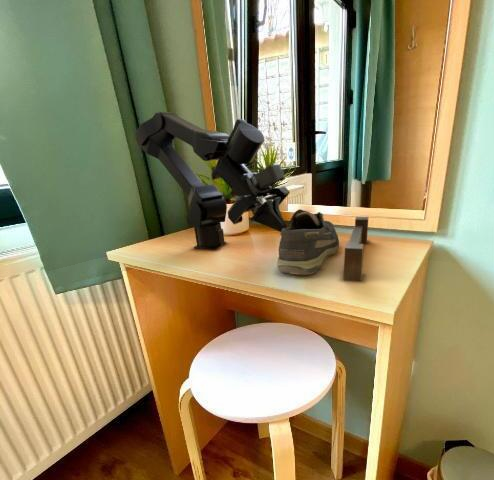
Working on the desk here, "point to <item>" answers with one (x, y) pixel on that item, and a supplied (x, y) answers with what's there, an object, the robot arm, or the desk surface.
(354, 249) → the rail
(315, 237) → the boat shoe
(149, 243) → the desk surface
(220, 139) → the robot arm
